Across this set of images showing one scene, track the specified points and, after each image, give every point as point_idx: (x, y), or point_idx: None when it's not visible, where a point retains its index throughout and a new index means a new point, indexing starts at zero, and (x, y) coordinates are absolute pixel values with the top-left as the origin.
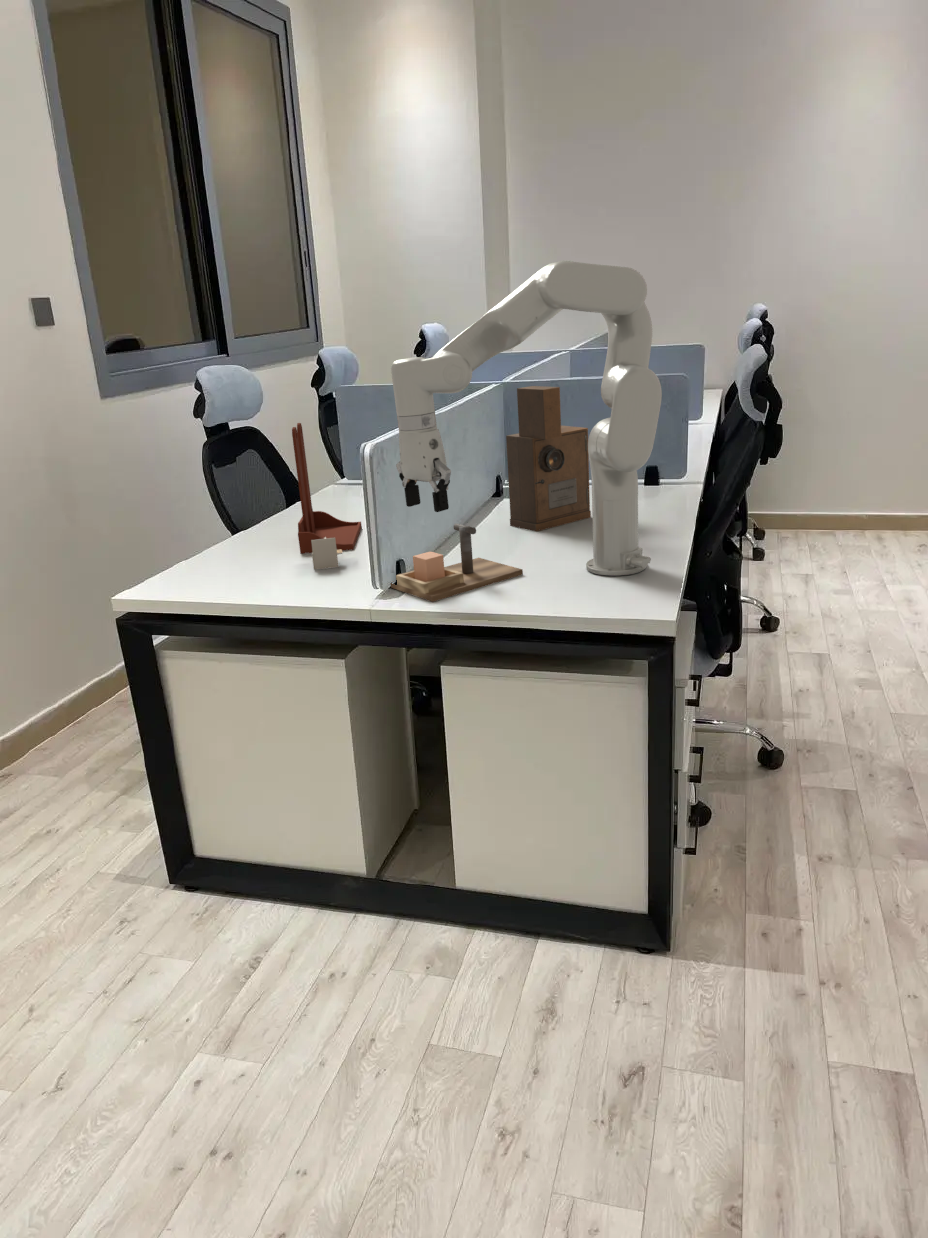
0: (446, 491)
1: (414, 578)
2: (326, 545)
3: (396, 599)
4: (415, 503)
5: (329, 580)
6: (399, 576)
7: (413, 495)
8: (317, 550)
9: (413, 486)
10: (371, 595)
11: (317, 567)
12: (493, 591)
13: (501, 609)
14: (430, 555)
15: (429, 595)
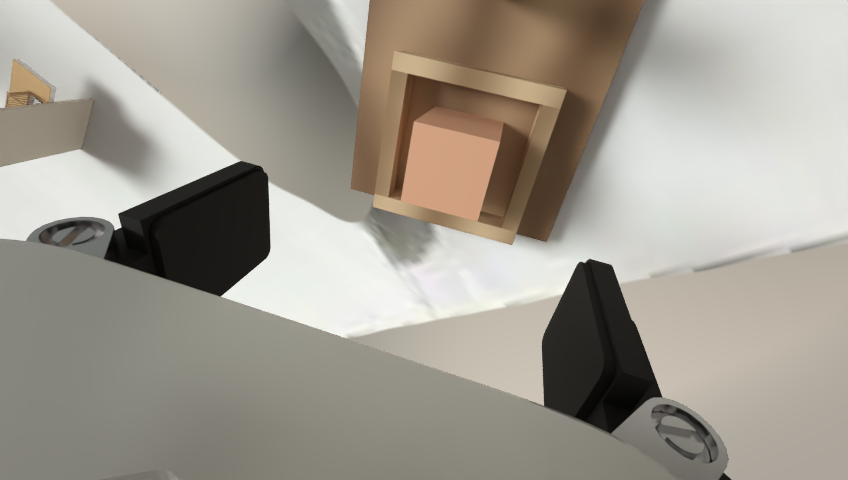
0: (645, 368)
1: (400, 152)
2: (16, 132)
3: (441, 251)
4: (264, 212)
5: None
6: (390, 211)
7: (224, 247)
8: (28, 150)
9: (156, 268)
10: (364, 249)
11: (78, 144)
12: (690, 66)
13: (801, 209)
14: (456, 169)
15: (534, 238)
